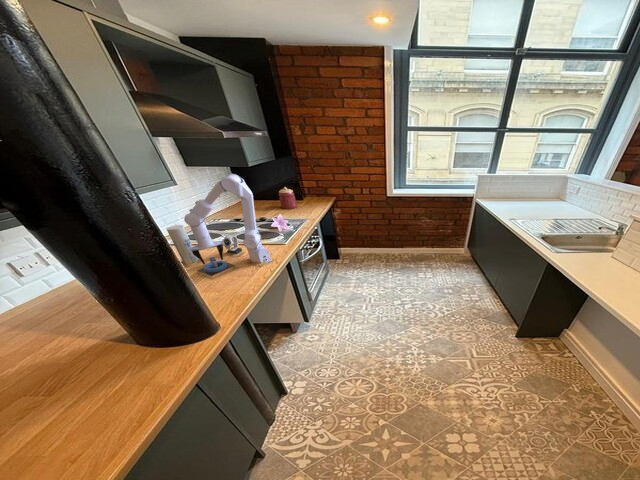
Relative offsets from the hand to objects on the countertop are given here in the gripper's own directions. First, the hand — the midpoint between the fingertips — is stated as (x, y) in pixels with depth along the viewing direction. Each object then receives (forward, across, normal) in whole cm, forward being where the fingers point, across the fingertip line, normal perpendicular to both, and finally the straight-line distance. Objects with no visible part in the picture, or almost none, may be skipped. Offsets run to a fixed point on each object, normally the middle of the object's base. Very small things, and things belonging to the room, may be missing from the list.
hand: (213, 261), depth 126 cm
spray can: (+3, +9, -11) cm, 14 cm away
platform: (+3, 0, +6) cm, 7 cm away
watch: (+3, -11, -9) cm, 14 cm away
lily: (+3, -44, -33) cm, 55 cm away
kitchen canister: (+3, -68, -87) cm, 110 cm away
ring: (+1, 0, +4) cm, 5 cm away
